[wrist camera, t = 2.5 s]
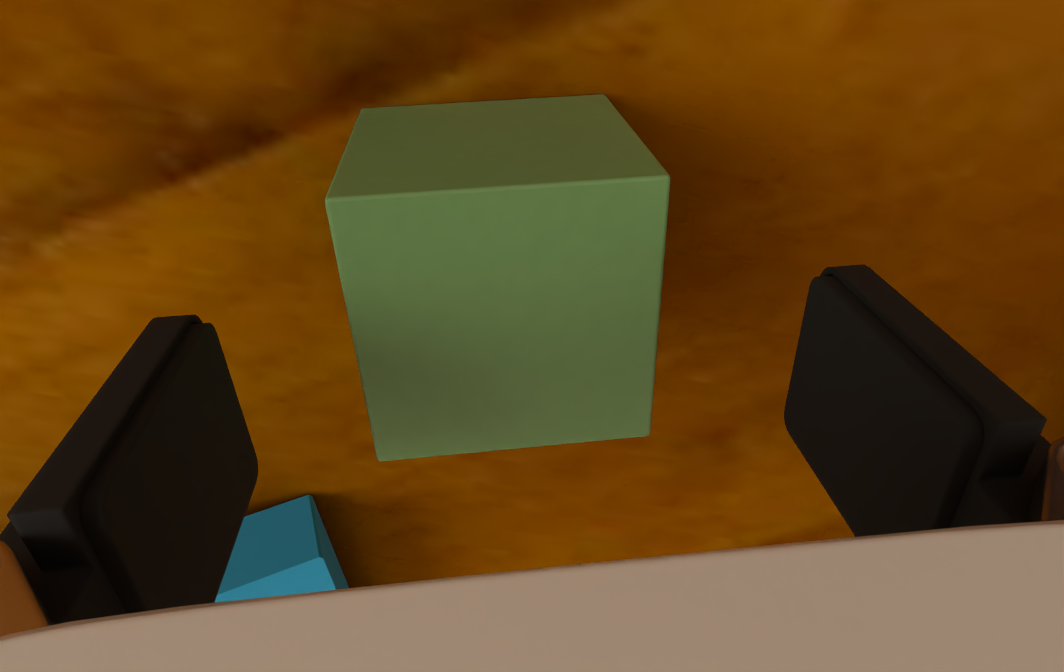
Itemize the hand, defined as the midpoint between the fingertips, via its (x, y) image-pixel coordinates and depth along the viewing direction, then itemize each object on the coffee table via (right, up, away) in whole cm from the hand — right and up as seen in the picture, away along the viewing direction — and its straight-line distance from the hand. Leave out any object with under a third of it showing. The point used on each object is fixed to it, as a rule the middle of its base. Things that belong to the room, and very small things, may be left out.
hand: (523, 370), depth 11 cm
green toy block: (-1, +3, +4) cm, 6 cm away
